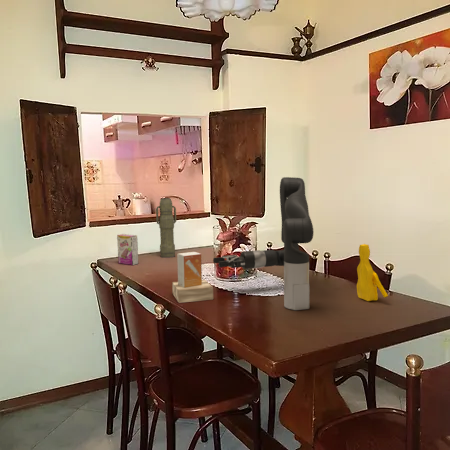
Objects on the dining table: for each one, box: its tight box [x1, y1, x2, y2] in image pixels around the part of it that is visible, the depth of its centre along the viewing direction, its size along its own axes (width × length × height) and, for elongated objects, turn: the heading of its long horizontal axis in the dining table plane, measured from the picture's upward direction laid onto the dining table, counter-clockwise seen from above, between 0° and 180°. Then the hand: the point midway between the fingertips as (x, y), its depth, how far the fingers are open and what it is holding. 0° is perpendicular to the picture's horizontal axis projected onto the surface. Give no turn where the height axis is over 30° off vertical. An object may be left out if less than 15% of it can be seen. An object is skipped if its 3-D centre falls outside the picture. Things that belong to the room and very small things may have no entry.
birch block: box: [171, 278, 214, 304], centre depth 189 cm, size 14×14×5 cm
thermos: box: [155, 197, 177, 259], centre depth 275 cm, size 9×12×35 cm
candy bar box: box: [116, 233, 139, 266], centre depth 257 cm, size 11×5×16 cm, turn 58°
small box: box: [176, 251, 203, 287], centre depth 188 cm, size 8×6×13 cm
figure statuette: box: [356, 243, 389, 302], centre depth 179 cm, size 18×8×22 cm, turn 23°
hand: (216, 262), depth 191 cm, fingers open, 8 cm apart
